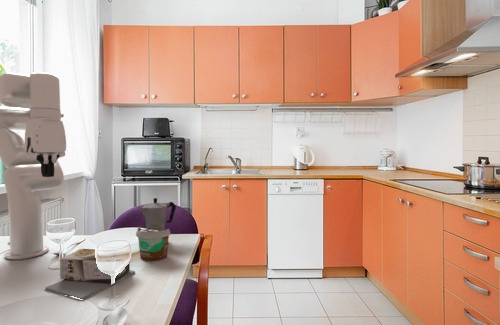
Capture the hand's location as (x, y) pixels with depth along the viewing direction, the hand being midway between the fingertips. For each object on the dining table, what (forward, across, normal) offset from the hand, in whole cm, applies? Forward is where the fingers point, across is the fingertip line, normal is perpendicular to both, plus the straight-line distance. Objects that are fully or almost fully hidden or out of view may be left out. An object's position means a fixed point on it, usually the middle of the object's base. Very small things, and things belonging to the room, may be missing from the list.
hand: (48, 176), depth 94 cm
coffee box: (+25, 0, +9) cm, 27 cm away
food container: (+29, -20, +21) cm, 41 cm away
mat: (+29, 0, +18) cm, 34 cm away
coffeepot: (+29, -34, +12) cm, 47 cm away
